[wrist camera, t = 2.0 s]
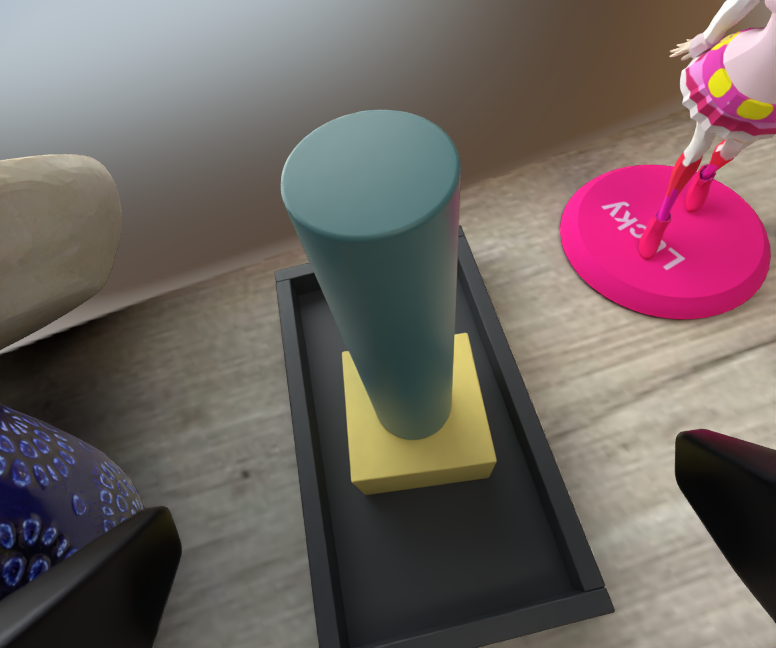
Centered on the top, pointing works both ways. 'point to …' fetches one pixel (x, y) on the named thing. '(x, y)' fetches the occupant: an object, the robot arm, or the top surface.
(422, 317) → the sponge wand
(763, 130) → the figurine
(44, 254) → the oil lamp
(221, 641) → the top surface
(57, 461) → the planter
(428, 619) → the tray
